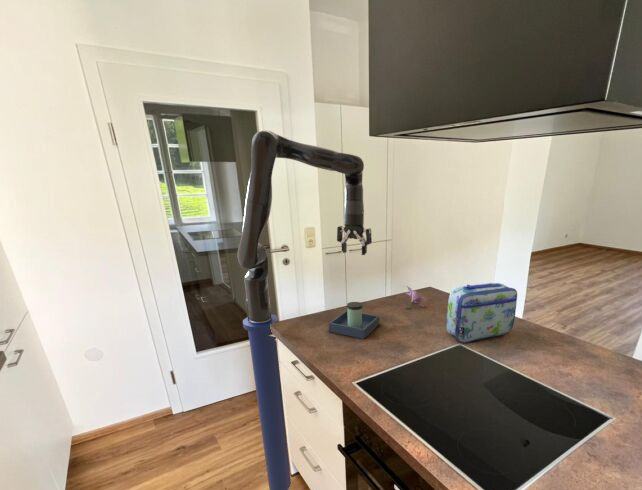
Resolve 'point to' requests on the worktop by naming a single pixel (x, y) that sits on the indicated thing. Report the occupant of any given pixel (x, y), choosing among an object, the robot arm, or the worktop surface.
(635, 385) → the worktop surface
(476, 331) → the lunch box
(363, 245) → the robot arm
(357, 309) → the food flask
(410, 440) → the worktop surface
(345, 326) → the blue square tray
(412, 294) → the lily
